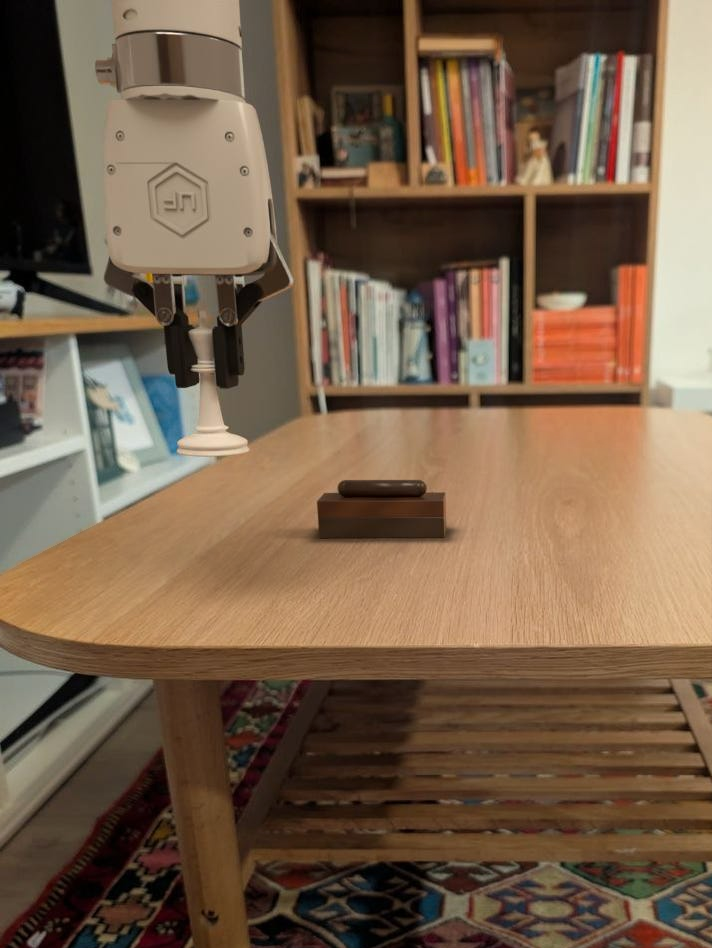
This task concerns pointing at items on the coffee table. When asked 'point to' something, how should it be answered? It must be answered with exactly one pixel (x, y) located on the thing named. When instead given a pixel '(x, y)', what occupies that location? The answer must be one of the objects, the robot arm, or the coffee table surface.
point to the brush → (382, 510)
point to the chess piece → (208, 403)
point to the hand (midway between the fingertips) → (208, 384)
